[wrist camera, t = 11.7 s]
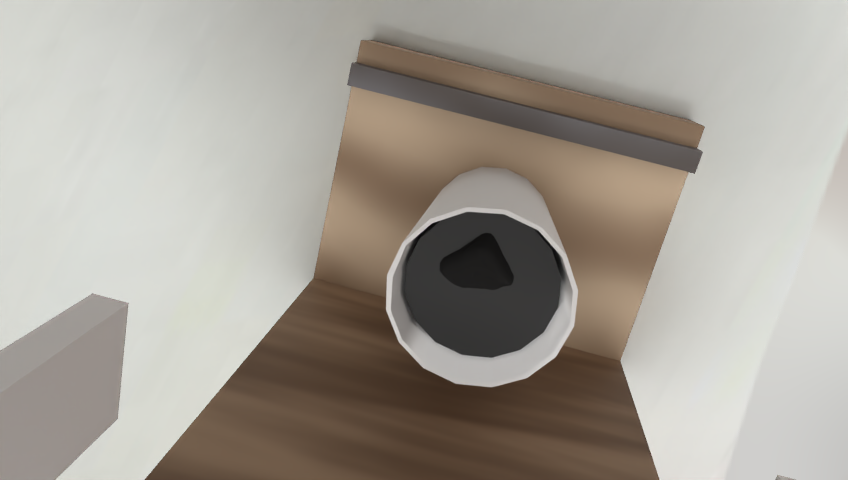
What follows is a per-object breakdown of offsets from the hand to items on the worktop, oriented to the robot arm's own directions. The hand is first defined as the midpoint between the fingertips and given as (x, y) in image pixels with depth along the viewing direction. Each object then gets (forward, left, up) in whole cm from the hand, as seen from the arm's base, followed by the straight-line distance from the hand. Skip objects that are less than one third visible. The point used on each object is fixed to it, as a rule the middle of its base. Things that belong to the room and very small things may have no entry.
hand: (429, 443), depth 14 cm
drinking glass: (+1, +1, -21) cm, 21 cm away
